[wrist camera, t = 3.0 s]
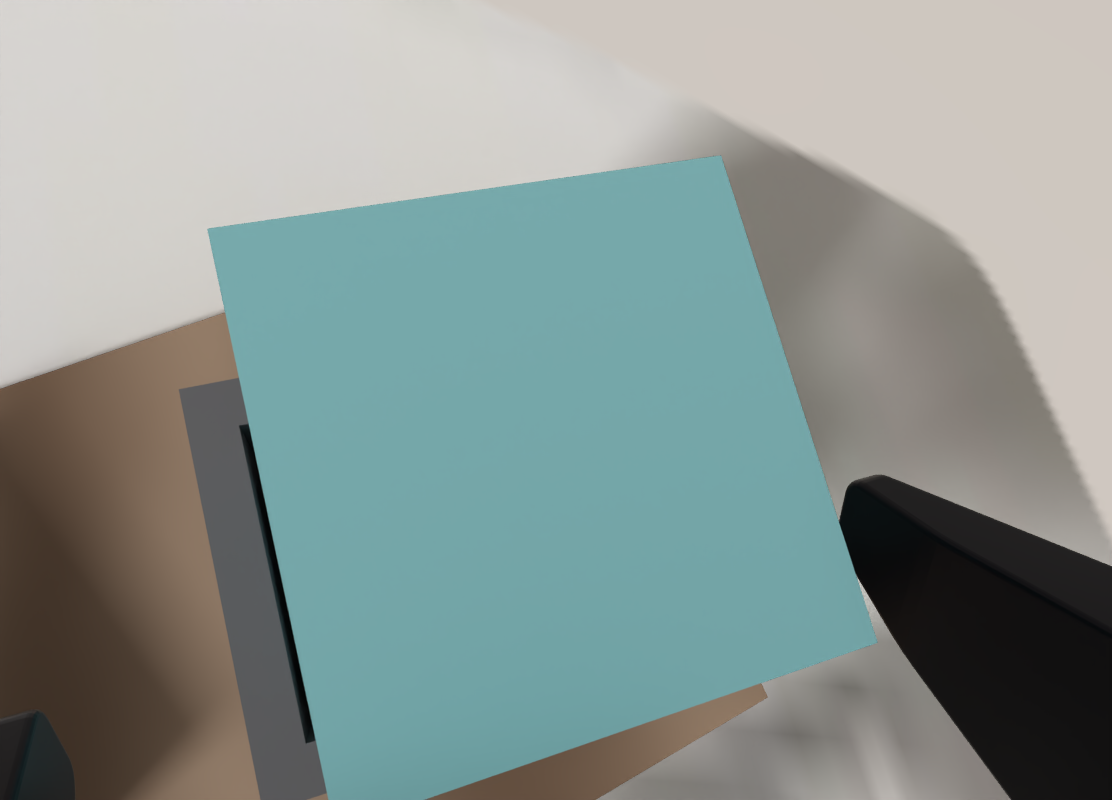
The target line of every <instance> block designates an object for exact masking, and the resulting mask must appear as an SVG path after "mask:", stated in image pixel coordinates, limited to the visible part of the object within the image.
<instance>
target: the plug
mask: <svg viewBox="0 0 1112 800" xmlns="http://www.w3.org/2000/svg"><path fill="white" fill-rule="evenodd" d="M208 234H209V239H210V243H211V248H212V253H213V257H214V262H215V267H216V272H217V276H218V281H219V286H220V290H221V295H222V300H223V305H224V309H225V314H226V319H227V323H228V328H229V333H230V338H231V342H232V347H233V352H234V357H235V361H236V366H237V371H238V375H239V380H240V385H241V390H242V394H243V399H244V404H245V408H246V413H247V418H248V423H249V427H250V432H251V437H252V441H253V446H254V451H255V456H256V460H257V465H258V470H259V474H260V479H261V484H262V489H263V493H264V498H265V503H266V507H267V512H268V517H269V522H270V526H271V531H272V536H273V541H274V545H275V550H276V555H277V559H278V564H279V569H280V574H281V578H282V583H283V588H284V592H285V597H286V602H287V607H288V611H289V616H290V621H291V625H292V630H293V635H294V640H295V644H296V649H297V654H298V658H299V663H300V668H301V673H302V677H303V682H304V687H305V691H306V696H307V701H308V706H309V710H310V715H311V720H312V725H313V729H314V734H315V739H316V743H317V748H318V753H319V758H320V762H321V767H322V772H323V776H324V781H325V786H326V791H327V795H328V800H425V799H428V798H431V797H434V796H437V795H440V794H442V793H445V792H448V791H451V790H454V789H457V788H460V787H463V786H466V785H468V784H471V783H474V782H477V781H480V780H483V779H486V778H489V777H492V776H494V775H497V774H500V773H503V772H506V771H509V770H512V769H515V768H517V767H520V766H523V765H526V764H529V763H532V762H535V761H538V760H541V759H543V758H546V757H549V756H552V755H555V754H558V753H561V752H564V751H567V750H569V749H572V748H575V747H578V746H581V745H584V744H587V743H590V742H593V741H595V740H598V739H601V738H604V737H607V736H610V735H613V734H616V733H618V732H621V731H624V730H627V729H630V728H633V727H636V726H639V725H642V724H644V723H647V722H650V721H653V720H656V719H659V718H662V717H665V716H668V715H670V714H673V713H676V712H679V711H682V710H685V709H688V708H691V707H694V706H696V705H699V704H702V703H705V702H708V701H711V700H714V699H717V698H719V697H722V696H725V695H728V694H731V693H734V692H737V691H740V690H743V689H745V688H748V687H751V686H754V685H757V684H760V683H763V682H766V681H769V680H771V679H774V678H777V677H780V676H783V675H786V674H789V673H792V672H795V671H797V670H800V669H803V668H806V667H809V666H812V665H815V664H818V663H820V662H823V661H826V660H829V659H832V658H835V657H838V656H841V655H844V654H846V653H849V652H852V651H855V650H858V649H861V648H864V647H867V646H870V645H872V644H875V643H878V642H877V639H876V636H875V633H874V630H873V627H872V623H871V620H870V617H869V614H868V611H867V608H866V605H865V602H864V599H863V595H862V592H861V589H860V586H859V583H858V580H857V577H856V574H855V571H854V567H853V564H852V561H851V558H850V555H849V552H848V549H847V546H846V543H845V539H844V536H843V533H842V530H841V527H840V524H839V521H838V518H837V515H836V512H835V508H834V505H833V502H832V499H831V496H830V493H829V490H828V487H827V484H826V480H825V477H824V474H823V471H822V468H821V465H820V462H819V459H818V456H817V452H816V449H815V446H814V443H813V440H812V437H811V434H810V431H809V428H808V424H807V421H806V418H805V415H804V412H803V409H802V406H801V403H800V400H799V396H798V393H797V390H796V387H795V384H794V381H793V378H792V375H791V372H790V369H789V365H788V362H787V359H786V356H785V353H784V350H783V347H782V344H781V341H780V337H779V334H778V331H777V328H776V325H775V322H774V319H773V316H772V313H771V309H770V306H769V303H768V300H767V297H766V294H765V291H764V288H763V285H762V281H761V278H760V275H759V272H758V269H757V266H756V263H755V260H754V257H753V254H752V250H751V247H750V244H749V241H748V238H747V235H746V232H745V229H744V226H743V222H742V219H741V216H740V213H739V210H738V207H737V204H736V201H735V198H734V194H733V191H732V188H731V185H730V182H729V179H728V176H727V173H726V170H725V166H724V163H723V160H722V157H721V155H720V156H713V157H706V158H699V159H692V160H685V161H678V162H671V163H664V164H657V165H650V166H643V167H636V168H629V169H622V170H615V171H608V172H601V173H594V174H587V175H580V176H573V177H566V178H559V179H552V180H545V181H538V182H531V183H524V184H517V185H510V186H503V187H496V188H489V189H482V190H475V191H468V192H461V193H454V194H447V195H440V196H433V197H426V198H419V199H412V200H405V201H398V202H391V203H384V204H377V205H370V206H363V207H356V208H349V209H342V210H335V211H328V212H321V213H314V214H307V215H300V216H293V217H286V218H279V219H272V220H265V221H258V222H251V223H244V224H237V225H230V226H223V227H216V228H209V229H208Z"/></svg>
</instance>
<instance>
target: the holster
mask: <svg viewBox="0 0 1112 800" xmlns="http://www.w3.org/2000/svg"><path fill="white" fill-rule="evenodd" d="M179 394H180V399H181V404H182V409H183V414H184V419H185V424H186V429H187V434H188V439H189V444H190V449H191V454H192V459H193V464H194V469H195V474H196V479H197V484H198V489H199V494H200V499H201V504H202V509H203V514H204V519H205V524H206V529H207V534H208V539H209V544H210V549H211V554H212V559H213V564H214V569H215V574H216V579H217V584H218V589H219V594H220V599H221V604H222V609H223V614H224V619H225V624H226V629H227V634H228V639H229V644H230V650H231V655H232V660H233V665H234V670H235V675H236V680H237V685H238V690H239V695H240V700H241V705H242V710H243V715H244V720H245V725H246V730H247V735H248V740H249V745H250V750H251V755H252V760H253V765H254V770H255V775H256V780H257V785H258V790H259V795H260V800H308V799H311V798H314V797H317V796H320V795H323V794H326V793H327V791H326V786H325V781H324V776H323V772H322V767H321V762H320V758H319V753H318V748H317V743H316V739H315V734H314V729H313V725H312V720H311V717H310V713H309V708H308V703H307V699H306V694H305V689H304V684H303V680H302V675H301V670H300V666H299V661H298V656H297V651H296V647H295V642H294V637H293V632H292V628H291V623H290V618H289V614H288V609H287V604H286V599H285V595H284V590H283V585H282V581H281V576H280V571H279V566H278V562H277V557H276V552H275V548H274V543H273V538H272V533H271V529H270V524H269V519H268V514H267V510H266V505H265V500H264V496H263V491H262V486H261V481H260V477H259V472H258V467H257V463H256V458H255V451H254V446H253V441H252V437H251V432H250V427H249V423H248V418H247V413H246V408H245V404H244V399H243V394H242V390H241V385H240V380H239V378H235V379H230V380H224V381H219V382H214V383H209V384H204V385H198V386H193V387H188V388H183V389H179Z"/></svg>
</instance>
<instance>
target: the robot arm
mask: <svg viewBox="0 0 1112 800" xmlns="http://www.w3.org/2000/svg"><path fill="white" fill-rule="evenodd" d="M839 524H840V527H841V530H842V533H843V536H844V539H845V543H846V546H847V549H848V552H849V555H850V558H851V561H852V564H853V567H854V571H855V574H856V575H857V577H858V579H859V581H860V582H861V584H862V586H863V587H864V589H865V591H866V592H867V594H868V596H869V597H870V599H871V601H872V602H873V604H874V606H875V607H876V609H877V611H878V612H879V614H880V616H881V618H882V619H883V621H884V623H885V624H886V626H887V628H888V629H889V631H890V633H891V634H892V636H893V638H894V639H895V641H896V642H897V644H898V645H899V647H900V649H901V650H902V652H903V653H904V655H905V656H906V657H907V659H908V660H909V662H910V663H911V665H912V666H913V667H914V669H915V670H916V672H917V673H918V674H919V676H920V677H921V678H922V680H923V681H924V682H925V684H926V685H927V687H928V688H929V689H930V691H931V692H932V693H933V695H934V696H935V697H936V699H937V700H938V701H939V703H940V704H941V706H942V707H943V708H944V710H945V711H946V712H947V714H948V715H949V716H950V718H951V719H952V720H953V722H954V723H955V725H956V726H957V727H958V729H959V730H960V731H961V733H962V734H963V735H964V737H965V738H966V739H967V741H968V742H969V743H970V745H971V746H972V748H973V749H974V750H975V752H976V753H977V754H978V756H979V757H980V758H981V760H982V761H983V762H984V764H985V765H986V767H987V768H988V769H989V771H990V772H991V773H992V775H993V776H994V777H995V779H996V780H997V781H998V783H999V784H1000V786H1001V787H1002V788H1003V790H1004V791H1005V792H1006V794H1007V795H1008V796H1009V798H1010V799H1011V800H1112V566H1110V565H1107V564H1105V563H1102V562H1100V561H1097V560H1095V559H1092V558H1090V557H1087V556H1085V555H1082V554H1080V553H1077V552H1075V551H1072V550H1070V549H1067V548H1065V547H1062V546H1060V545H1057V544H1055V543H1052V542H1050V541H1047V540H1045V539H1042V538H1040V537H1037V536H1035V535H1032V534H1030V533H1027V532H1025V531H1022V530H1020V529H1017V528H1015V527H1013V526H1010V525H1008V524H1005V523H1003V522H1000V521H998V520H995V519H993V518H990V517H988V516H985V515H983V514H980V513H978V512H975V511H973V510H970V509H968V508H965V507H963V506H960V505H958V504H955V503H953V502H950V501H948V500H945V499H943V498H940V497H938V496H935V495H933V494H930V493H928V492H925V491H923V490H920V489H918V488H915V487H913V486H910V485H908V484H905V483H903V482H900V481H898V480H896V479H893V478H891V477H888V476H885V475H873V476H869V477H866V478H862V479H859V480H855V481H853V482H851V483H850V485H849V486H848V487H847V490H846V493H845V497H844V502H843V506H842V510H841V515H840V519H839ZM0 800H76V799H75V778H74V772H73V767H72V764H71V761H70V758H69V756H68V754H67V753H66V751H65V749H64V747H63V745H62V743H61V742H60V740H59V738H58V736H57V734H56V732H55V731H54V729H53V727H52V725H51V723H50V721H49V719H48V718H47V716H46V715H45V714H44V713H43V712H42V711H41V710H38V709H31V710H28V711H24V712H20V713H17V714H13V715H10V716H6V717H2V718H0Z"/></svg>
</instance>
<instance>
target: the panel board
mask: <svg viewBox="0 0 1112 800" xmlns="http://www.w3.org/2000/svg"><path fill="white" fill-rule="evenodd" d="M235 378H239V375H238V371H237V366H236V361H235V357H234V352H233V347H232V342H231V338H230V333H229V328H228V323H227V319H226V314H225V313H222V314H220V315H217V316H214V317H211V318H208V319H205V320H202V321H199V322H196V323H193V324H190V325H187V326H184V327H181V328H178V329H175V330H172V331H169V332H166V333H164V334H161V335H158V336H155V337H152V338H149V339H146V340H143V341H140V342H137V343H134V344H131V345H128V346H125V347H122V348H119V349H116V350H113V351H111V352H108V353H105V354H102V355H99V356H96V357H93V358H90V359H87V360H84V361H81V362H78V363H75V364H72V365H69V366H66V367H63V368H60V369H58V370H55V371H52V372H49V373H46V374H43V375H40V376H37V377H34V378H31V379H28V380H25V381H22V382H19V383H16V384H13V385H10V386H7V387H5V388H2V389H0V718H2V717H6V716H10V715H13V714H17V713H20V712H24V711H28V710H31V709H38V710H41V711H42V712H43V713H44V714H45V715H46V716H47V718H48V719H49V721H50V723H51V725H52V727H53V729H54V731H55V732H56V734H57V736H58V738H59V740H60V742H61V743H62V745H63V747H64V749H65V751H66V753H67V754H68V756H69V758H70V761H71V764H72V767H73V772H74V778H75V799H76V800H260V795H259V790H258V785H257V780H256V775H255V770H254V765H253V760H252V755H251V750H250V745H249V740H248V735H247V730H246V725H245V720H244V715H243V710H242V705H241V700H240V695H239V690H238V685H237V680H236V675H235V670H234V665H233V660H232V655H231V650H230V644H229V639H228V634H227V629H226V624H225V619H224V614H223V609H222V604H221V599H220V594H219V589H218V584H217V579H216V574H215V569H214V564H213V559H212V554H211V549H210V544H209V539H208V534H207V529H206V524H205V519H204V514H203V509H202V504H201V499H200V494H199V489H198V484H197V479H196V474H195V469H194V464H193V459H192V454H191V449H190V444H189V439H188V434H187V429H186V424H185V419H184V414H183V409H182V404H181V399H180V394H179V389H183V388H188V387H193V386H198V385H204V384H209V383H214V382H219V381H224V380H230V379H235ZM255 458H256V456H255ZM256 463H257V460H256ZM257 467H258V465H257ZM258 472H259V470H258ZM259 477H260V474H259ZM260 481H261V479H260ZM261 486H262V484H261ZM262 491H263V489H262ZM263 496H264V493H263ZM264 500H265V498H264ZM265 505H266V503H265ZM266 510H267V507H266ZM267 514H268V512H267ZM268 519H269V517H268ZM269 524H270V522H269ZM270 529H271V526H270ZM271 533H272V531H271ZM272 538H273V536H272ZM273 543H274V541H273ZM274 548H275V545H274ZM275 552H276V550H275ZM276 557H277V555H276ZM277 562H278V559H277ZM278 566H279V564H278ZM279 571H280V569H279ZM280 576H281V574H280ZM281 581H282V578H281ZM282 585H283V583H282ZM283 590H284V588H283ZM284 595H285V592H284ZM285 599H286V597H285ZM286 604H287V602H286ZM287 609H288V607H287ZM288 614H289V611H288ZM289 618H290V616H289ZM290 623H291V621H290ZM291 628H292V625H291ZM292 632H293V630H292ZM293 637H294V635H293ZM294 642H295V640H294ZM295 647H296V644H295ZM296 651H297V649H296ZM297 656H298V654H297ZM298 661H299V658H298ZM299 666H300V663H299ZM300 670H301V668H300ZM301 675H302V673H301ZM302 680H303V677H302ZM303 684H304V682H303ZM304 689H305V687H304ZM305 694H306V691H305ZM766 698H767V694H766V692H765V690H764V688H763V686H762V684H761V683H760V684H757V685H754V686H751V687H748V688H745V689H743V690H740V691H737V692H734V693H731V694H728V695H725V696H722V697H719V698H717V699H714V700H711V701H708V702H705V703H702V704H699V705H696V706H694V707H691V708H688V709H685V710H682V711H679V712H676V713H673V714H670V715H668V716H665V717H662V718H659V719H656V720H653V721H650V722H647V723H644V724H642V725H639V726H636V727H633V728H630V729H627V730H624V731H621V732H618V733H616V734H613V735H610V736H607V737H604V738H601V739H598V740H595V741H593V742H590V743H587V744H584V745H581V746H578V747H575V748H572V749H569V750H567V751H564V752H561V753H558V754H555V755H552V756H549V757H546V758H543V759H541V760H538V761H535V762H532V763H529V764H526V765H523V766H520V767H517V768H515V769H512V770H509V771H506V772H503V773H500V774H497V775H494V776H492V777H489V778H486V779H483V780H480V781H477V782H474V783H471V784H468V785H466V786H463V787H460V788H457V789H454V790H451V791H448V792H445V793H442V794H440V795H437V796H434V797H431V798H428V799H425V800H596V799H598V798H599V797H601V796H603V795H604V794H606V793H608V792H609V791H611V790H613V789H614V788H616V787H618V786H619V785H621V784H623V783H624V782H626V781H628V780H629V779H631V778H633V777H635V776H636V775H638V774H640V773H641V772H643V771H645V770H646V769H648V768H650V767H651V766H653V765H655V764H656V763H658V762H660V761H661V760H663V759H665V758H666V757H668V756H670V755H672V754H673V753H675V752H677V751H678V750H680V749H682V748H683V747H685V746H687V745H688V744H690V743H692V742H693V741H695V740H697V739H698V738H700V737H702V736H704V735H705V734H707V733H709V732H710V731H712V730H714V729H715V728H717V727H719V726H720V725H722V724H724V723H725V722H727V721H729V720H730V719H732V718H734V717H735V716H737V715H739V714H741V713H742V712H744V711H746V710H747V709H749V708H751V707H752V706H754V705H756V704H757V703H759V702H761V701H762V700H764V699H766ZM306 699H307V696H306ZM307 703H308V701H307ZM308 708H309V706H308ZM309 713H310V710H309ZM310 717H311V715H310ZM308 800H328V795H327V793H326V794H323V795H320V796H317V797H314V798H311V799H308Z"/></svg>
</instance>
